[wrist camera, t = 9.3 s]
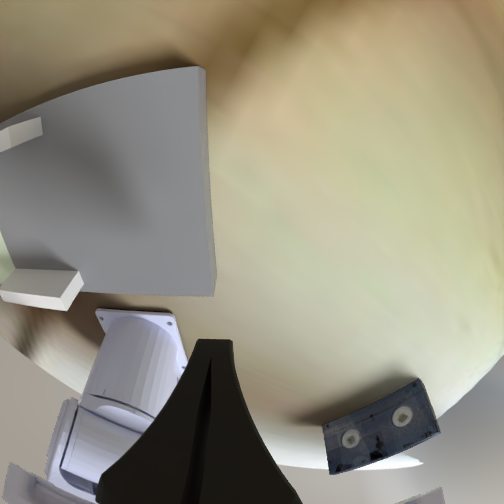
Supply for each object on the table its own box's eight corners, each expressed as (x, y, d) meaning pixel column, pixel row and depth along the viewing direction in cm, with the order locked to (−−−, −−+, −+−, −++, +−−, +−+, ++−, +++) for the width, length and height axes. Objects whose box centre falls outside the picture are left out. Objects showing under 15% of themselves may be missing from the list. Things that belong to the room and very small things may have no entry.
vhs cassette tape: (327, 427, 40) (335, 475, 31) (319, 424, 38) (327, 475, 30) (423, 382, 33) (441, 432, 25) (420, 377, 32) (440, 431, 24)
